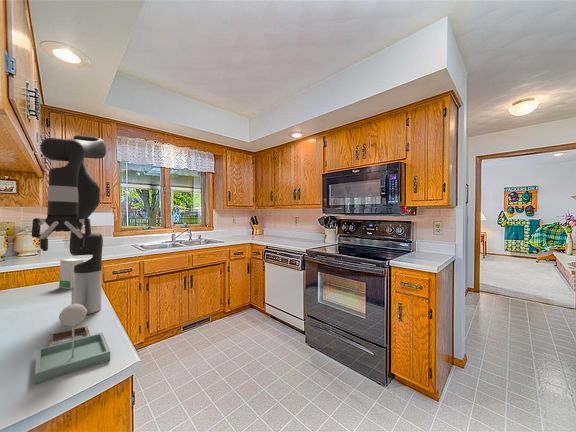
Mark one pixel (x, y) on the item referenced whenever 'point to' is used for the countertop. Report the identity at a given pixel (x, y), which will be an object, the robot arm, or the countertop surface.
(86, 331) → the square wooden frame
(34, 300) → the countertop surface
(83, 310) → the lollipop
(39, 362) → the tray
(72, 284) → the skincare box
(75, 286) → the robot arm
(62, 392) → the countertop surface
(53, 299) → the countertop surface
